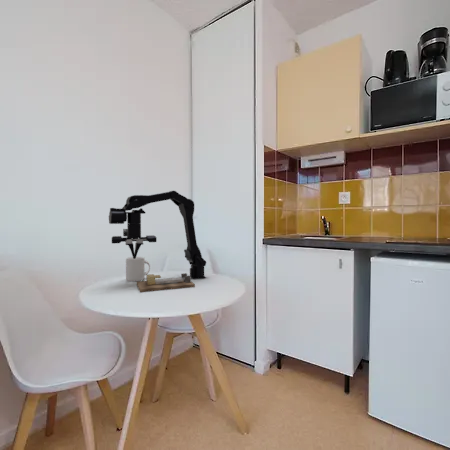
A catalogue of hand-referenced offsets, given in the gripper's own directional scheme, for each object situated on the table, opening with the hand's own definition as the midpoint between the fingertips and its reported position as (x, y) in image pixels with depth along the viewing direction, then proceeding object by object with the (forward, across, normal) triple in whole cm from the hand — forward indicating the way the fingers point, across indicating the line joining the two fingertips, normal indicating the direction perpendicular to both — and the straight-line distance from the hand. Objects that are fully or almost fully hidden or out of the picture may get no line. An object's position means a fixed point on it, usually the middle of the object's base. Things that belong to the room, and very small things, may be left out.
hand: (134, 258), depth 125 cm
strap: (+11, -15, +6) cm, 19 cm away
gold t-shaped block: (+10, -8, +6) cm, 14 cm away
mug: (+12, -3, -12) cm, 17 cm away
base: (+12, -12, +6) cm, 18 cm away
